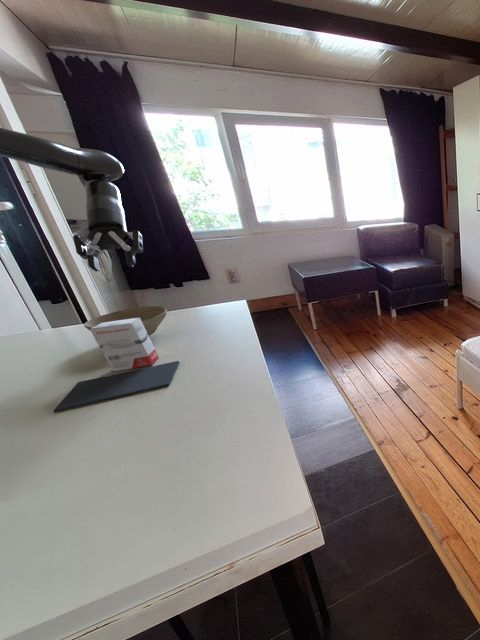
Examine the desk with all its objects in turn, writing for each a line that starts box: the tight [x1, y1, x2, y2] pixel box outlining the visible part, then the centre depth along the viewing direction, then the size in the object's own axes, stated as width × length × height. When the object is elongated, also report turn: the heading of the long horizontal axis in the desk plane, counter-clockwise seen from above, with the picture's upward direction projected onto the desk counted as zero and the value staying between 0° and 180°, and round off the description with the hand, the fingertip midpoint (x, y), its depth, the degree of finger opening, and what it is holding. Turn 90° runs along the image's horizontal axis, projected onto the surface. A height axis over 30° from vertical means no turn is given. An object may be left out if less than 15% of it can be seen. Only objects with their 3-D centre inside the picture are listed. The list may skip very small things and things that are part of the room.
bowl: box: [83, 305, 168, 337], centre depth 107 cm, size 18×18×8 cm
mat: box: [53, 360, 180, 413], centre depth 85 cm, size 20×13×1 cm, turn 117°
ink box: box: [89, 318, 160, 372], centre depth 92 cm, size 8×5×12 cm, turn 109°
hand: (113, 267), depth 96 cm, fingers open, 6 cm apart
